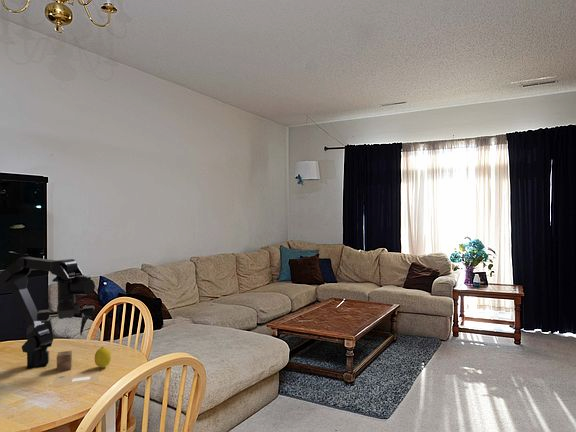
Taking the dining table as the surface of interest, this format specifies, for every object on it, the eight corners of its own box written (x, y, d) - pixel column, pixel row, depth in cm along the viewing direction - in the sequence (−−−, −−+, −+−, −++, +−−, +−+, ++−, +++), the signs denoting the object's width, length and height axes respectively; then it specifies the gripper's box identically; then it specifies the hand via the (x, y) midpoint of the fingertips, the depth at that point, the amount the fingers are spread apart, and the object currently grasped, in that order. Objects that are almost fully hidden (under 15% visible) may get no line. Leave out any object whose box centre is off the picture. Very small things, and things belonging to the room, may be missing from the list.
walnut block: (56, 372, 155) (56, 356, 155) (58, 368, 159) (58, 352, 159) (70, 370, 156) (70, 354, 156) (71, 366, 161) (71, 350, 160)
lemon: (104, 371, 155) (104, 349, 155) (91, 370, 156) (91, 348, 156) (114, 366, 161) (113, 344, 161) (100, 365, 162) (100, 344, 162)
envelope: (51, 387, 141) (51, 386, 141) (55, 377, 150) (55, 376, 150) (98, 381, 146) (98, 380, 146) (99, 371, 155) (99, 370, 155)
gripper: (34, 300, 146) (35, 346, 146) (95, 295, 154) (95, 338, 154) (37, 294, 156) (38, 337, 156) (94, 290, 164) (94, 331, 164)
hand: (67, 336), depth 157 cm, fingers open, 9 cm apart
